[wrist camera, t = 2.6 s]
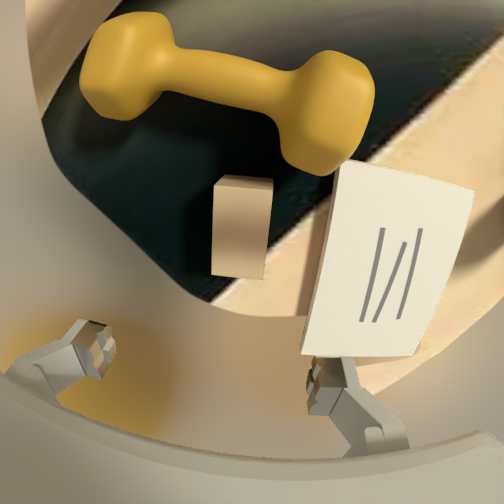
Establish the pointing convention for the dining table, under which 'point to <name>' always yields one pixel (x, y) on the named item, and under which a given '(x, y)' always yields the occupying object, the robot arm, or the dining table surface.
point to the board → (383, 260)
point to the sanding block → (241, 226)
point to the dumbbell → (231, 87)
